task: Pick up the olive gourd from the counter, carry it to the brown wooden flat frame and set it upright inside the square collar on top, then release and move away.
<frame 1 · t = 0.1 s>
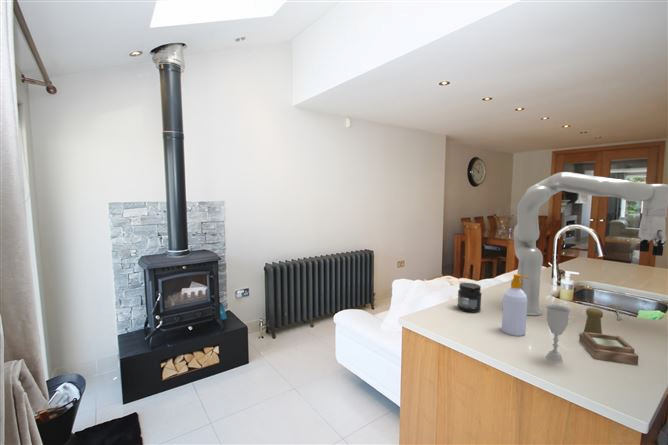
hand: (650, 253, 141), 31 cm above the worktop, tool pointing down, fingers open, 9 cm apart
supplement container: (468, 309, 161), on the worktop
chalice: (554, 359, 113), on the worktop
brown wooden flat frame: (606, 352, 118), on the worktop
soap bottle: (514, 332, 135), on the worktop
soupspoon: (616, 314, 157), on the worktop
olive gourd: (592, 336, 132), on the worktop
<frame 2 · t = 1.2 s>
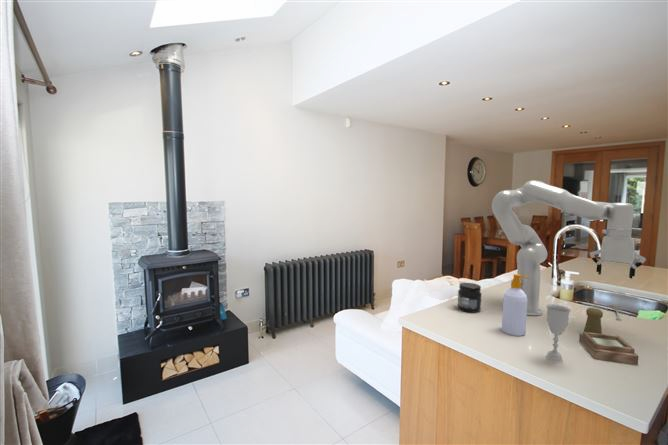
hand: (614, 275, 134), 23 cm above the worktop, tool pointing down, fingers open, 9 cm apart
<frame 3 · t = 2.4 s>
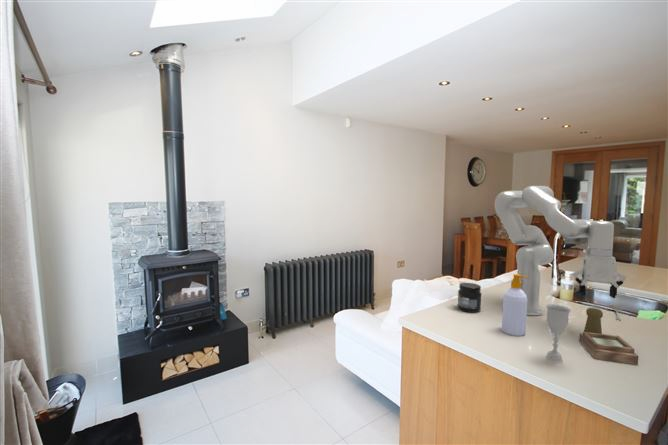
hand: (597, 295, 130), 16 cm above the worktop, tool pointing down, fingers open, 9 cm apart
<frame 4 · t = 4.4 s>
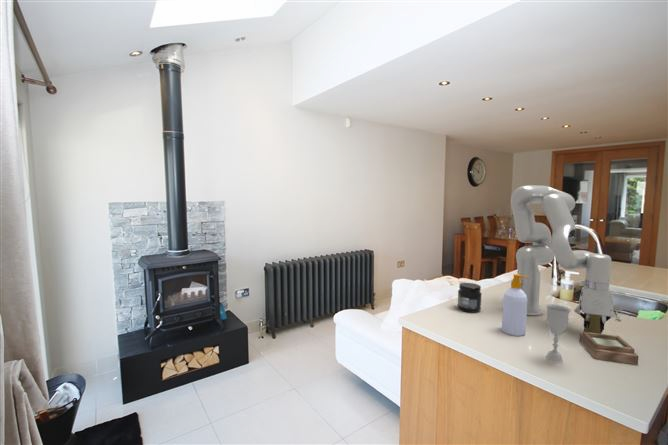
hand: (593, 330, 132), 2 cm above the worktop, tool pointing down, fingers closed on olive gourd, 3 cm apart
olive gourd: (592, 336, 132), on the worktop, touching gripper
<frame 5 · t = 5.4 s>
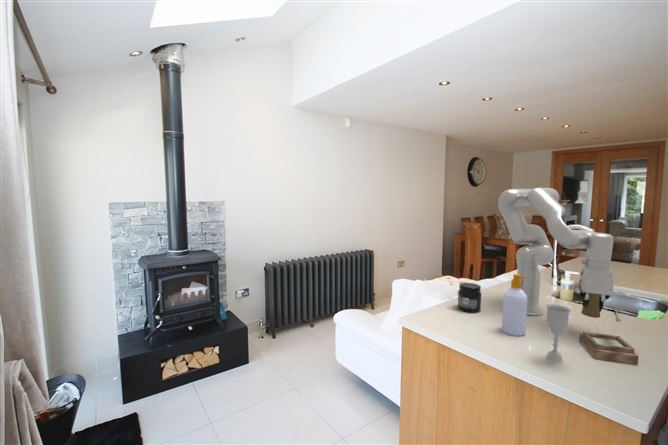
hand: (592, 309, 132), 11 cm above the worktop, tool pointing down, fingers closed on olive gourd, 3 cm apart
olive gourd: (590, 315, 132), point 8 cm above the worktop, touching gripper
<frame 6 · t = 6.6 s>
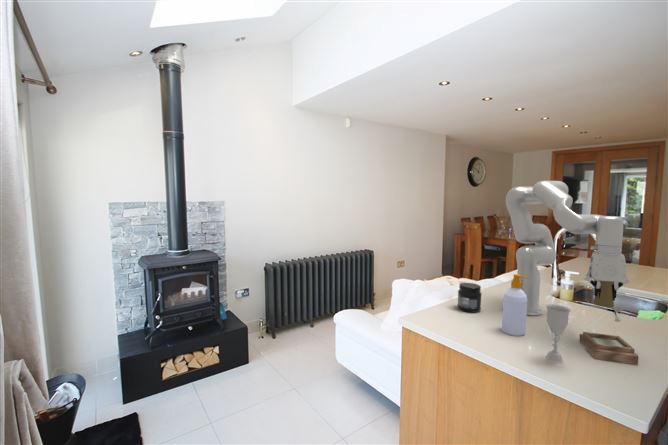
hand: (604, 298, 122), 18 cm above the worktop, tool pointing down, fingers closed on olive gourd, 3 cm apart
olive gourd: (603, 305, 123), point 15 cm above the worktop, touching gripper
when the fingers open (7 cm above the worktop, at t = 9.3 s): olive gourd moves 1 cm, resting on brown wooden flat frame.
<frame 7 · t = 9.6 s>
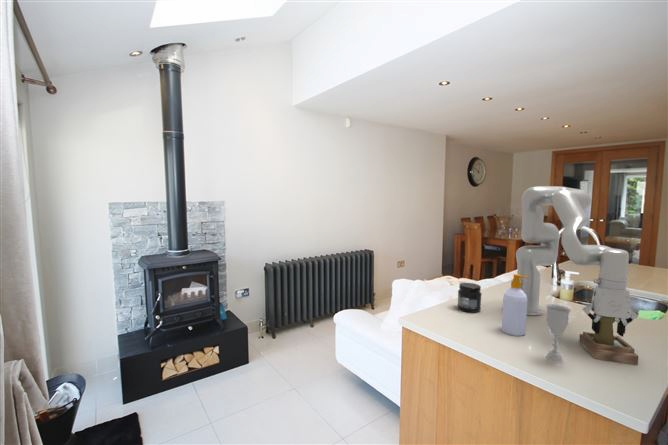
hand: (607, 333, 118), 7 cm above the worktop, tool pointing down, fingers open, 6 cm apart
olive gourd: (603, 343, 118), point 3 cm above the worktop, touching brown wooden flat frame
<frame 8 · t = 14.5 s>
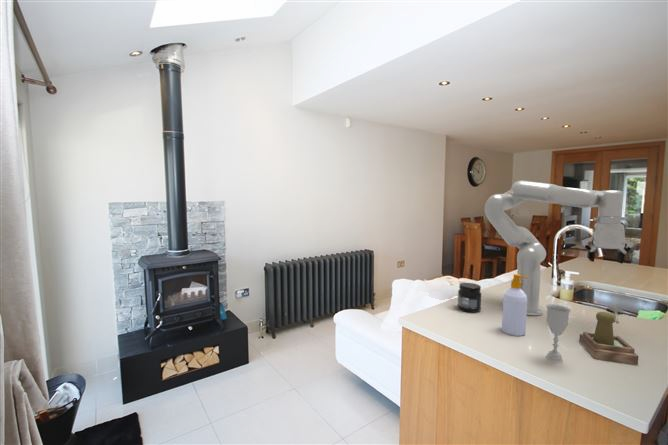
hand: (605, 261, 137), 28 cm above the worktop, tool pointing down, fingers open, 9 cm apart
soupspoon: (615, 317, 154), on the worktop
everything else where it was.
at the end: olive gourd 1.0 cm off-centre on the brown wooden flat frame, point 3.0 cm above the brown wooden flat frame's base; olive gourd tilted 0°; the gripper is holding nothing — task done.
